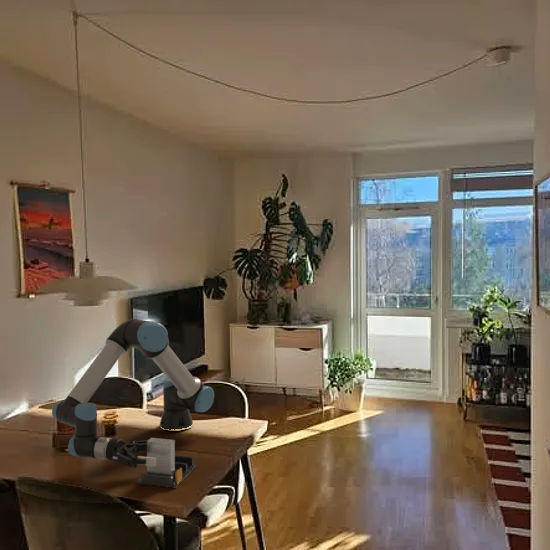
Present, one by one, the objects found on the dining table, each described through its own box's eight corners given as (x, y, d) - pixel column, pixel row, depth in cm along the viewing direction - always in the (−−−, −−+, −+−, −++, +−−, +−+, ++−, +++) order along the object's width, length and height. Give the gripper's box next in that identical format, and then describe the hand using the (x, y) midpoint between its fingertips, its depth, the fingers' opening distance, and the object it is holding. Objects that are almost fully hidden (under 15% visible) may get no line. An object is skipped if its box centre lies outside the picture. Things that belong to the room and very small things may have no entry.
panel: (151, 475, 190) (151, 437, 190) (174, 478, 188) (174, 440, 188) (147, 479, 187) (147, 441, 186) (170, 482, 185) (170, 443, 184)
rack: (160, 462, 205) (160, 450, 204) (196, 466, 201) (197, 453, 201) (137, 483, 186) (137, 469, 186) (176, 488, 183) (176, 474, 182)
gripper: (127, 446, 204) (178, 451, 199) (90, 473, 180) (147, 479, 175) (127, 427, 204) (178, 432, 199) (90, 451, 179) (147, 457, 175)
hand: (164, 454), depth 187 cm, fingers open, 13 cm apart
